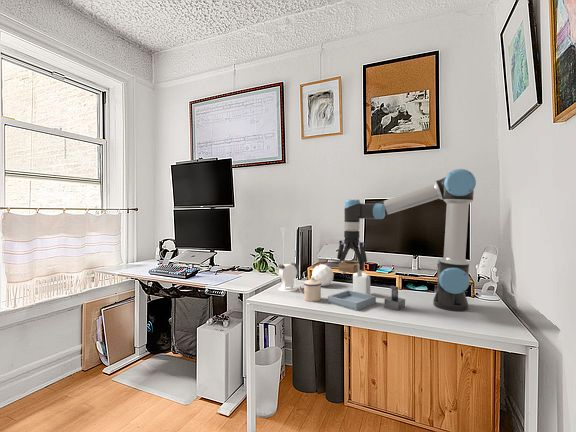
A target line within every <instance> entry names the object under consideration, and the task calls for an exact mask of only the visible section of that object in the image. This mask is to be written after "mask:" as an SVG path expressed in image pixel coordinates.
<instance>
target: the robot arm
mask: <svg viewBox="0 0 576 432" xmlns="http://www.w3.org/2000/svg"><path fill="white" fill-rule="evenodd" d="M476 184H477V180H476V177H475V175H474V174H473V173H472V172H471V171H470V170H468V169H464V168H458V169H457V168H455V169H453V170H451V171H450V172H449V173H447V174H446V175H445V177H443V178H441V179H438V180H436V181H435V180H434V183H433V184H430V185H426V186H424V187H421V188H418V189H415V190H411V191H409V192H406V193H403V194H400V195H398V196H395V197H391V198H389V199H386V200H381V201H380V202H376V203H361V201H360V199H345V200H344V221H343V223H344V224H343V226H344V228H343V230H344V231H343V234H344V235H343V238H344V239H341V240H339V241H338V243H339V247H338V251H337V257H336V259H337V260H339V263H340V262H345V261H346V257H347V255H348V253H349V250H352V251H353V252H354V254H355V256H356V259H357V262H359V263H358V270H357V277H360V276H362V272H363V271H362V270H363V263H364V264H365V263H368V258H367V254H366V248H365V245H366V243H365V242H364V241H360V226H361V225H360V220H363V219H364V220H365V219H366V220H384V218H385V216H388V215H391V214H394V213H395V214H396V213H398V212H400V211H404V210H407V209H409V208H413V207H417V206H420V205H423V204H426V203H429V202H433V201H435V200H438V199H439V200H443V202H445V204H446V211H445V227H444V230H445V231H444V232H445V233H444V246H443V257H442V258H439V259H438V260H437V264H436V265H437V287H436V288H437V289H436V292H435V294H434V296H433V297H434V298H433V303H432V304H433V306H435V307H436V308H438V309H442V310H447V311H454V312H457V311H459V312H461V311H462V312H463V311H467V310H468V309H469V301H468V299H467V297H466V296H467V295H466V293H465V291H467V290H468V288H469V286H470V283H471V280H470V276H469V274H470V273H469V271H470V262H468V260H467V259H466V255H467V254H466V253H467V242H468V241H467V239H468V223H469V207H470V204H471V203H472V202H473V201H474V192H475V190H474V189H475V188H476ZM340 272H341V273H340V274H342V275H344V274H346V273H347V272H344V271H340Z"/></svg>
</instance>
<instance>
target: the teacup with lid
mask: <svg viewBox="0 0 576 432" xmlns="http://www.w3.org/2000/svg"><path fill="white" fill-rule="evenodd" d="M302 287H304V288H303V290H304V291H303V290H302ZM298 289H299V293H301V294H302V295H303V296H304V298H303V299H304V300H305V301H306V302H311V303H315V302H319V301H321V300H322V299H321V297H322V293H321V292H322V290H321V289H322V286H321V282H320V281H317V280H316V279H314V277H312V276H311V277H310V278H308V280H305V281H304V283H303V284H301V285H300V286H299V287H298Z"/></svg>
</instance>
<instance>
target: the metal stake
mask: <svg viewBox="0 0 576 432" xmlns="http://www.w3.org/2000/svg"><path fill="white" fill-rule="evenodd" d="M389 289H391V296H389V297H386V298H384V308H386V309H390V310H393V311H401V310H402V309H406V298H401V297H399V286H396V285H395V286H394V285H390V286H389Z"/></svg>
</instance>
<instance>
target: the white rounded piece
mask: <svg viewBox="0 0 576 432" xmlns="http://www.w3.org/2000/svg"><path fill="white" fill-rule="evenodd" d="M278 268H279V270H278V276H279V277H278V278H279V282H280V284H281V285H280V287H278V288H277V290H278V291H280V292H284V293H285V292H286V293H287V292H288V293H289V292H290V293H291V292H296V291H298V288H297V287H296V286H295V285H294V284H295V279H296V278H297V275H298V270H297V268H298V264H297V263H296V262H291V263H284V264H278Z"/></svg>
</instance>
